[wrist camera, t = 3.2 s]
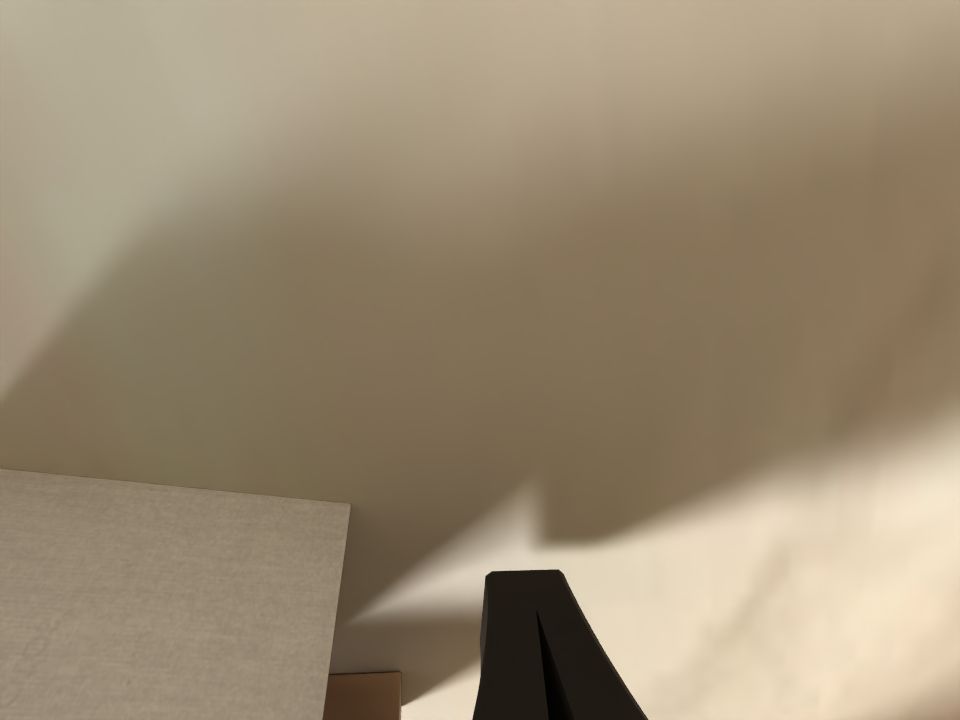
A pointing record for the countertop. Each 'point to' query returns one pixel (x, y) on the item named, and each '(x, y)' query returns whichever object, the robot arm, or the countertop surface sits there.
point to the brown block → (363, 697)
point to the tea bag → (164, 601)
